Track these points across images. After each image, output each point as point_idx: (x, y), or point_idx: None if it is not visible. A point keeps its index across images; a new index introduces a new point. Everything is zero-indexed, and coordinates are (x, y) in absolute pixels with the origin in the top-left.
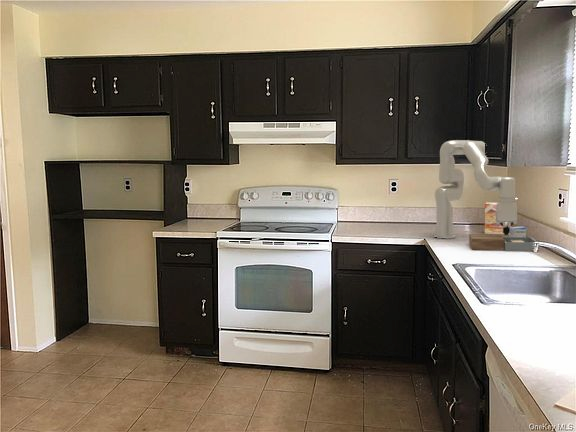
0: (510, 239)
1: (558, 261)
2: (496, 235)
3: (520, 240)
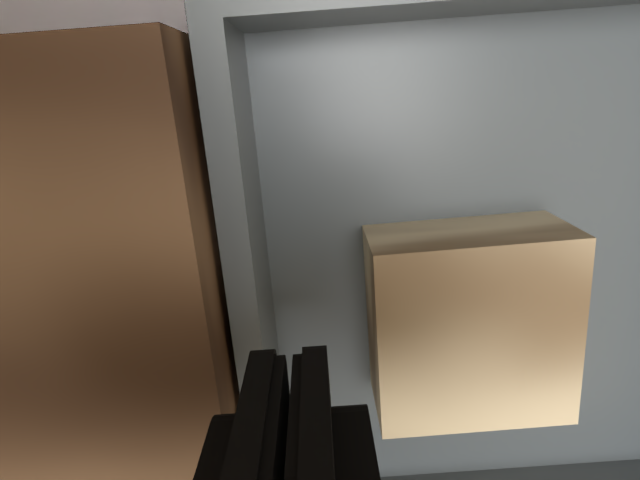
0: (415, 10)
1: None
2: (85, 206)
3: (557, 290)
